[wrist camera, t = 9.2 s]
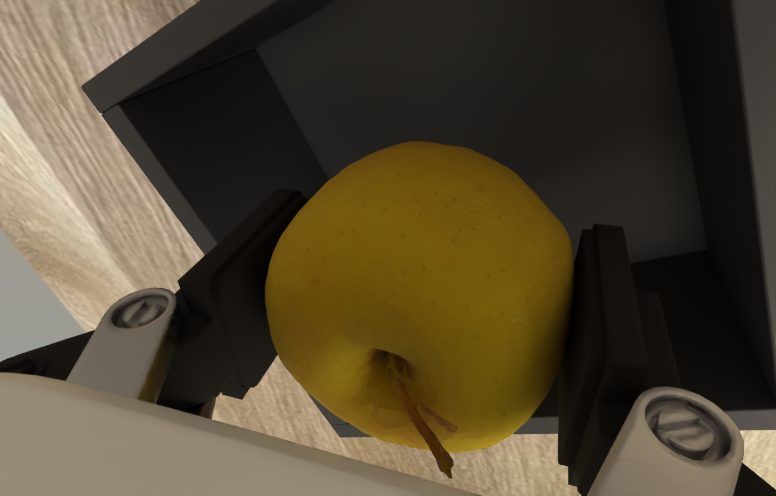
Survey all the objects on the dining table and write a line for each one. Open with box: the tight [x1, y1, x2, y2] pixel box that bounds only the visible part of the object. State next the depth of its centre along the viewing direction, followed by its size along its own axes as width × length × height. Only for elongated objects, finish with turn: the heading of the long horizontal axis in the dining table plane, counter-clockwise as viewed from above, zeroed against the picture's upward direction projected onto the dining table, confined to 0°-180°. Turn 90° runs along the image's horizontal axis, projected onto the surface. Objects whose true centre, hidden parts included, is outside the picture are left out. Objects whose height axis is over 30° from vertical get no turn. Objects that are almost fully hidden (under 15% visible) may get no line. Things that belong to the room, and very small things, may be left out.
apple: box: [265, 141, 574, 478], centre depth 10 cm, size 6×6×8 cm
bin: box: [81, 0, 776, 437], centre depth 14 cm, size 15×15×8 cm
